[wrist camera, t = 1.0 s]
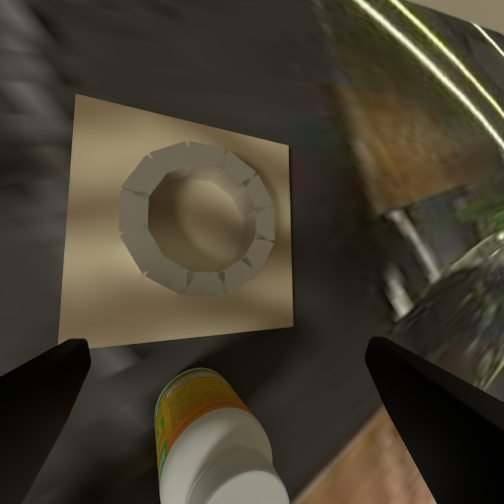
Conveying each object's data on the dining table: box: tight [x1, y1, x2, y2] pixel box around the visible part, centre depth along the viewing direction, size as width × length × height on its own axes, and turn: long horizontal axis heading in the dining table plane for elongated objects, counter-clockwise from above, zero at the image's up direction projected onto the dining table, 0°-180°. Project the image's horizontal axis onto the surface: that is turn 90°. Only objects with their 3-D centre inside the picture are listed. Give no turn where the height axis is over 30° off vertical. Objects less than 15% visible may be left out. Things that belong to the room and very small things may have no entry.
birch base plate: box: [58, 94, 293, 348], centre depth 18 cm, size 16×16×1 cm
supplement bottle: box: [154, 368, 289, 504], centre depth 13 cm, size 5×5×10 cm
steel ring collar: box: [118, 141, 275, 297], centre depth 17 cm, size 10×10×2 cm
